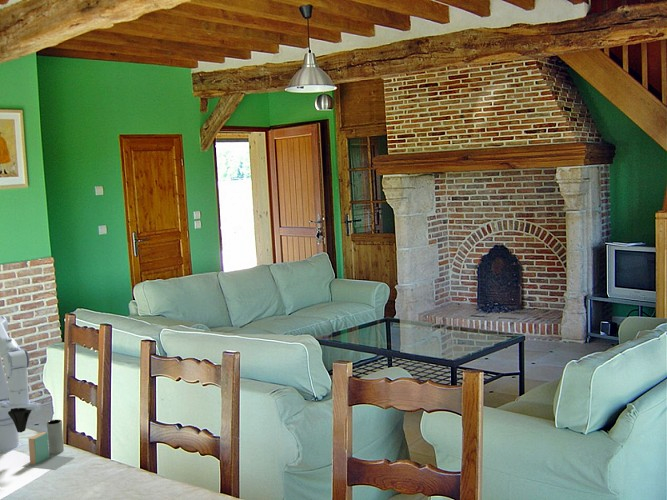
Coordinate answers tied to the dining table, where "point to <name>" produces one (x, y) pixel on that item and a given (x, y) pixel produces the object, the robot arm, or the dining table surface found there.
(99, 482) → the dining table surface
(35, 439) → the tile
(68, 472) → the dining table surface
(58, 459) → the mat
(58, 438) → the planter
